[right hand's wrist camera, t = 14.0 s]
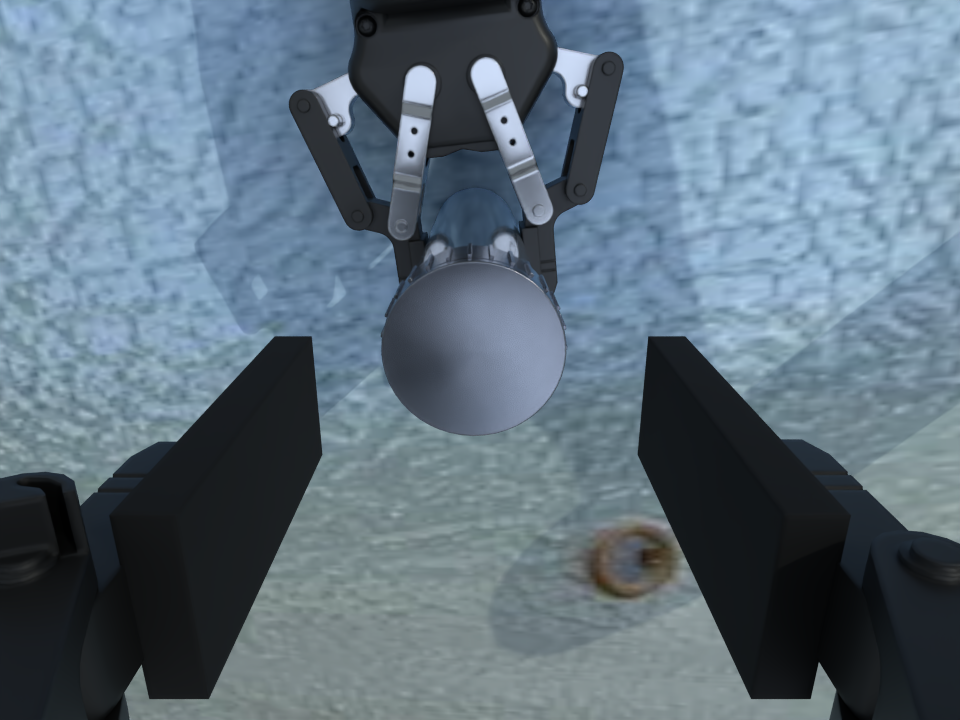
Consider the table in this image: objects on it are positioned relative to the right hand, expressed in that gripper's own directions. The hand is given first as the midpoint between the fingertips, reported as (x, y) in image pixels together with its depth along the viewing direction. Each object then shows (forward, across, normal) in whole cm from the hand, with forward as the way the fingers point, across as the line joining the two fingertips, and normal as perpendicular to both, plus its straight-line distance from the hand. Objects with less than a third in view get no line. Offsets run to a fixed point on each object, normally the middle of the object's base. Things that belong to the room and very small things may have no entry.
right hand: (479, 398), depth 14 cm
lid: (+3, 0, 0) cm, 3 cm away
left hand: (+17, 0, -3) cm, 17 cm away
